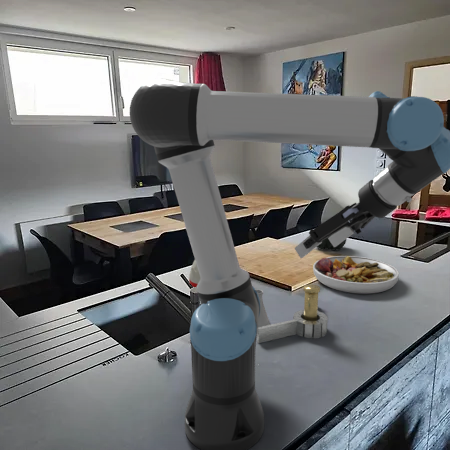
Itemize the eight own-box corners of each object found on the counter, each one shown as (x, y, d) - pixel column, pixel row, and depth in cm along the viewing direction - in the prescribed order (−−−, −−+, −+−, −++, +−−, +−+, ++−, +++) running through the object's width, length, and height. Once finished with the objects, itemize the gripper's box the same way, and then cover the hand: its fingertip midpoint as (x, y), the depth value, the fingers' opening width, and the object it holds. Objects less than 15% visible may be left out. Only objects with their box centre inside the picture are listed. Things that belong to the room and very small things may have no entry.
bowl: (384, 268, 161) (385, 249, 160) (410, 298, 132) (412, 276, 130) (308, 266, 164) (309, 248, 162) (318, 296, 135) (319, 274, 133)
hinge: (324, 352, 100) (324, 338, 99) (256, 342, 105) (256, 329, 104) (329, 307, 126) (330, 295, 125) (274, 301, 131) (275, 289, 130)
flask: (249, 330, 112) (249, 297, 110) (241, 319, 119) (241, 288, 116) (273, 327, 114) (274, 294, 111) (264, 316, 120) (265, 285, 118)
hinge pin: (317, 335, 109) (319, 291, 106) (301, 332, 110) (302, 289, 107) (318, 327, 113) (320, 285, 110) (302, 325, 114) (304, 283, 111)
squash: (305, 233, 193) (317, 215, 182) (332, 232, 198) (345, 214, 186) (314, 258, 186) (328, 241, 174) (342, 256, 190) (357, 239, 178)
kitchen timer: (210, 292, 139) (209, 251, 136) (181, 283, 147) (180, 244, 144) (233, 280, 150) (233, 241, 146) (205, 272, 158) (205, 236, 154)
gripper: (365, 215, 70) (291, 273, 84) (421, 201, 87) (352, 251, 101) (341, 182, 73) (273, 243, 87) (400, 174, 89) (335, 226, 103)
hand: (315, 247), depth 94 cm, fingers open, 13 cm apart
